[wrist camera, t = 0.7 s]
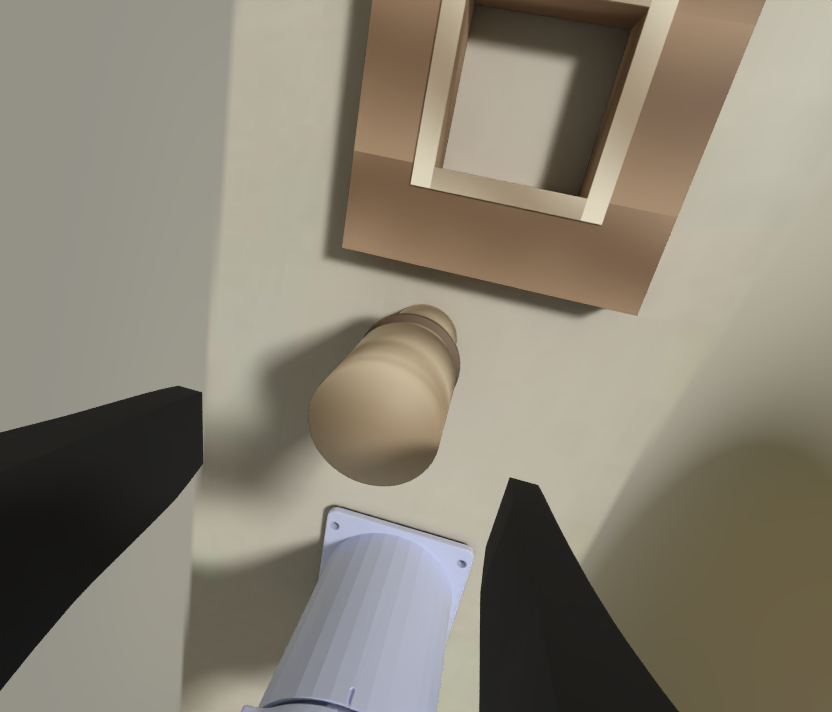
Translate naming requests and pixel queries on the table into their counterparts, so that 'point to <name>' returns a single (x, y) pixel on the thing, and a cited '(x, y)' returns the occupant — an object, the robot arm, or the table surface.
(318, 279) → the table surface
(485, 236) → the board
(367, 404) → the peg
